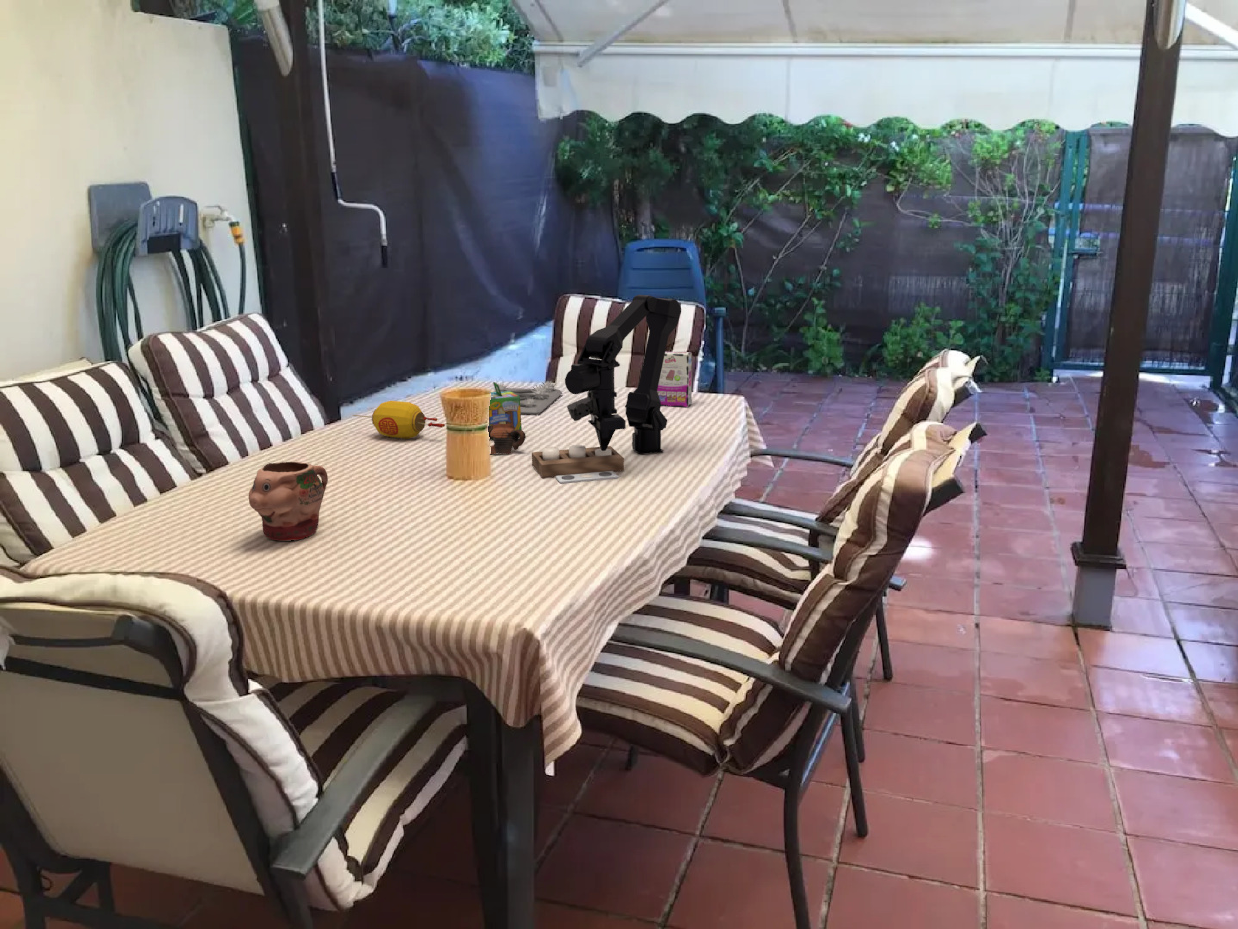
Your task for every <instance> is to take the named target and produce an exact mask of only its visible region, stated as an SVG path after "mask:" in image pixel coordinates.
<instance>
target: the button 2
mask: <svg viewBox="0 0 1238 929" xmlns="http://www.w3.org/2000/svg"><path fill="white" fill-rule="evenodd" d="M607 455H611V449H606V451H602V450H601V449H596V450H595V456H607Z"/></svg>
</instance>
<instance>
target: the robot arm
mask: <svg viewBox="0 0 1238 929" xmlns="http://www.w3.org/2000/svg"><path fill="white" fill-rule="evenodd" d="M681 314H682V306H681V305H680V303H679V301H678V300H677V299H674V298H663V297H662V298H660V297H654V296H652V295H647V294H637V295H635V296H633V298H632V301H631V302H630V303H629V304H628V305H627V306H626V307H625V308H624V309H623V310H622V311H621V313H619V314H618V315H617V316H616V317H615V318H614V320H612V322H611V323H610V324H608V325H607V326H605V327H603V328H600V329H597V330H595V331H594V332H593V333H591V334H590V335H588V336H587V338H586V340H585V343H584V346H583V347H582V351H581V353H580V355H579V356H578V360H577V364H576V363H574V364H571V366H570V370H569V371H567V373H566V375H565V378H564V384H565V387H566V390H568V392H569V393H571V394H573V395H579V394H584V393H587V396H586V397H584V398H581V399H579V400H576V401H574V402H572V403H569V404H568V405H566V408H567V411H568V413H569V415H570V418H571V419H572V420H573V421H574V422H578V421H580V420H581V419H582V418H583V419H584V417H587V416H589V415H590V419H588V420H587V422H588V423H589V424H590V425H591V426H592V427H594V430H595V432H596V436H597V440H598V444H599V447H600V448H601V450H602V451H606V449H607V447H608V446H610V445H609V444H610V442H611V440H612V438H613V436H614V434H615V432H616V431H617V430H625V429H626V422H627V423H628V426H629V427H630V428H631V427H632V428H633V432H632V433H631V434H632V435H631V442H632V443H631V444H632V450H633V451H634V452H636V453H637V454H638V455H645V454H647V455H648V454H658V453H659V454H660V453H664V450H663V449H662V431H664V429H666V428H667V424H668V418H666V416H665V415H664V414H663V412H662V411H661V407H662V406H661V401H660V398H659V395H658V392H657V389H658V384H659V379H660V375H661V370H662V365H663V360H664V355H665V352H667V350H666V349H667V344H668V340H669V336H670V335H671V333H673V331H674V330H675V329H676V327H677V326H678V323H679V321H680V318H681ZM644 318H645V322H646V325H647V328H648V331H649V332H648V337H647V341H646V347H645V351H644V356H643V361H642V366H641V370H640V377H639V381H638V384H637V387H636V388H635V390H633V391H629V392H628V393H627V397H626V398H627V399H626V402H625V406H624V408H625V416H626V418H627V421H626V419H624V418H623V417H622V416H621V415H619V414H618V409H617V408H616V407H615V404H616V403H615V400H616V399H615V398H617V397H618V393H617V391H616V390H615V368H618V367H620V366H621V363H620V362H618V361H617V360H616V358H617V356H619V354H620V352H621V351H622V349H623V344H624V342H623V341H624V340H625V339H626V338H627V337H628V336H629V335H630V334H631V333H632V331H633V330H634V329H635V328H636V327H637V326H638V325H639V324H640V323H641V322H642V321H643V320H644Z"/></svg>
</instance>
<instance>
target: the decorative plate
mask: <svg viewBox="0 0 1238 929" xmlns="http://www.w3.org/2000/svg"><path fill="white" fill-rule="evenodd" d="M544 382H545V383H544ZM544 382H542V381H541V383H542V384H540V383H539V385H538V386H537V384H535V387H534V386H532V388H524V387H522V388H518V387H508V386H506V385H505V384H504V383H503V384H501V382H500V383H497V384H498V385H499V388H500V391H501V392H504V391H511V392H513V393H515V394H517V395H519V396H520V409H521V416H523V415H526V416H527V415H528V416H538V415H540V414H541V413H542V412H544V410H545V409H546V408H548V407H549V406H550V405H551V404H552V403H553V402H554V401H556V400H557V399H558V398H559V397H561V395H562V394H563V391H562V390H560V389H557V388H556V387H555V386H556V385H557V384H555V383H554V382H552V381H546V380H544ZM497 390H498V388H497ZM498 391H499V390H498Z"/></svg>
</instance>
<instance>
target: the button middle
mask: <svg viewBox="0 0 1238 929" xmlns="http://www.w3.org/2000/svg"><path fill="white" fill-rule="evenodd" d="M585 448H586V446H585V445H581V444H576V445H575V444H573V445H570V446H568V449H569V458H570V459H571V458H583V457H586V450H585Z"/></svg>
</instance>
